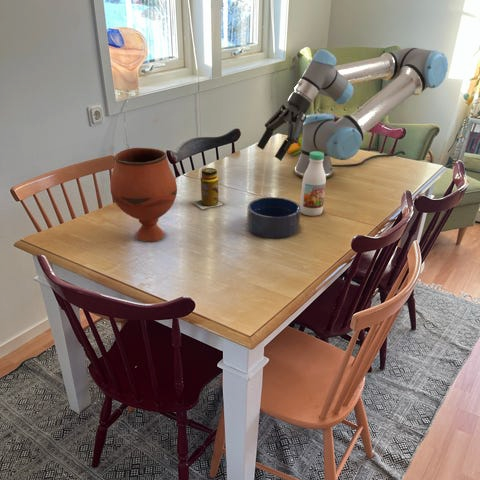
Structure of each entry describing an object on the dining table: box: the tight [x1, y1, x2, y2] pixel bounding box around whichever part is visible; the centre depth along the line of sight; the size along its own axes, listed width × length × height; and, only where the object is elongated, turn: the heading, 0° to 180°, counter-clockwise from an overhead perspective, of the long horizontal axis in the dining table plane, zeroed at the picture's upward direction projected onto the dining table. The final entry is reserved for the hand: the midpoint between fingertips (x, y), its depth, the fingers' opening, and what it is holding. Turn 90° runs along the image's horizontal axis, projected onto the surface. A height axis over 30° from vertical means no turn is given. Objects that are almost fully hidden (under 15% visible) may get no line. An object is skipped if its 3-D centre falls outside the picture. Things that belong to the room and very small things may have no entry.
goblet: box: [109, 147, 178, 243], centre depth 141 cm, size 19×19×25 cm
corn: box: [286, 133, 302, 156], centre depth 218 cm, size 7×8×20 cm
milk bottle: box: [299, 151, 327, 217], centre depth 159 cm, size 8×8×20 cm
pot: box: [246, 196, 301, 240], centre depth 152 cm, size 17×17×7 cm
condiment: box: [192, 167, 224, 210], centre depth 166 cm, size 7×8×12 cm
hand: (268, 153), depth 169 cm, fingers open, 13 cm apart
